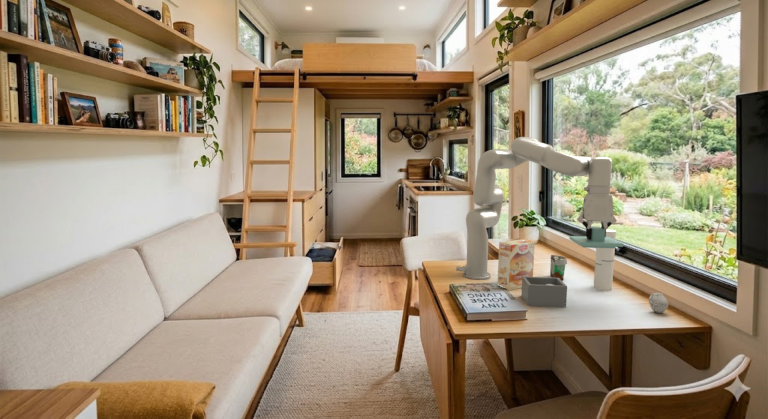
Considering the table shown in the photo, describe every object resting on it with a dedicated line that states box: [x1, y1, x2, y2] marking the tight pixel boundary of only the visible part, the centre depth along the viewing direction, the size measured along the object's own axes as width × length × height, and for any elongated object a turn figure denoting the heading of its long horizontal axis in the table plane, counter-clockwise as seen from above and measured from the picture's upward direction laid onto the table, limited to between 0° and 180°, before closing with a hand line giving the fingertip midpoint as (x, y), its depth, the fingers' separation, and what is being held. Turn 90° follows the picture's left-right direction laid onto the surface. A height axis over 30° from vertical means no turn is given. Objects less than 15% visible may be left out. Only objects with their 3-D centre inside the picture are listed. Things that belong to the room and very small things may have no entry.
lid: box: [569, 225, 624, 249], centre depth 174 cm, size 15×13×7 cm
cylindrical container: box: [593, 228, 617, 292], centre depth 196 cm, size 7×7×25 cm
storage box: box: [521, 276, 568, 308], centre depth 178 cm, size 14×12×8 cm
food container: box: [549, 254, 568, 282], centre depth 210 cm, size 12×6×10 cm, turn 168°
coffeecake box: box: [496, 238, 536, 291], centre depth 198 cm, size 15×7×20 cm, turn 122°
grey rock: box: [648, 292, 669, 314], centre depth 168 cm, size 6×7×7 cm
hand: (595, 238), depth 174 cm, fingers closed on lid, 4 cm apart
